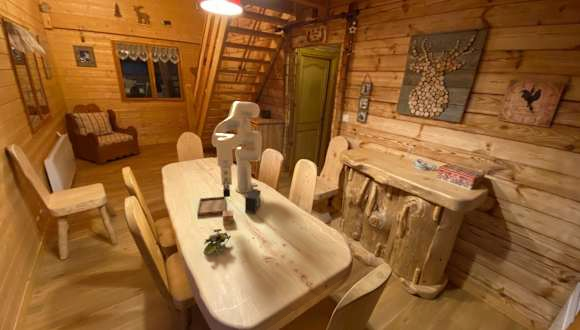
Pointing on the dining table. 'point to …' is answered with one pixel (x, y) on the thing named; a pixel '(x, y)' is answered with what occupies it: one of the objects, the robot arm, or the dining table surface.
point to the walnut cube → (228, 217)
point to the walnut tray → (211, 206)
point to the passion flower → (216, 242)
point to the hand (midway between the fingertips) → (226, 192)
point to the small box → (252, 201)
